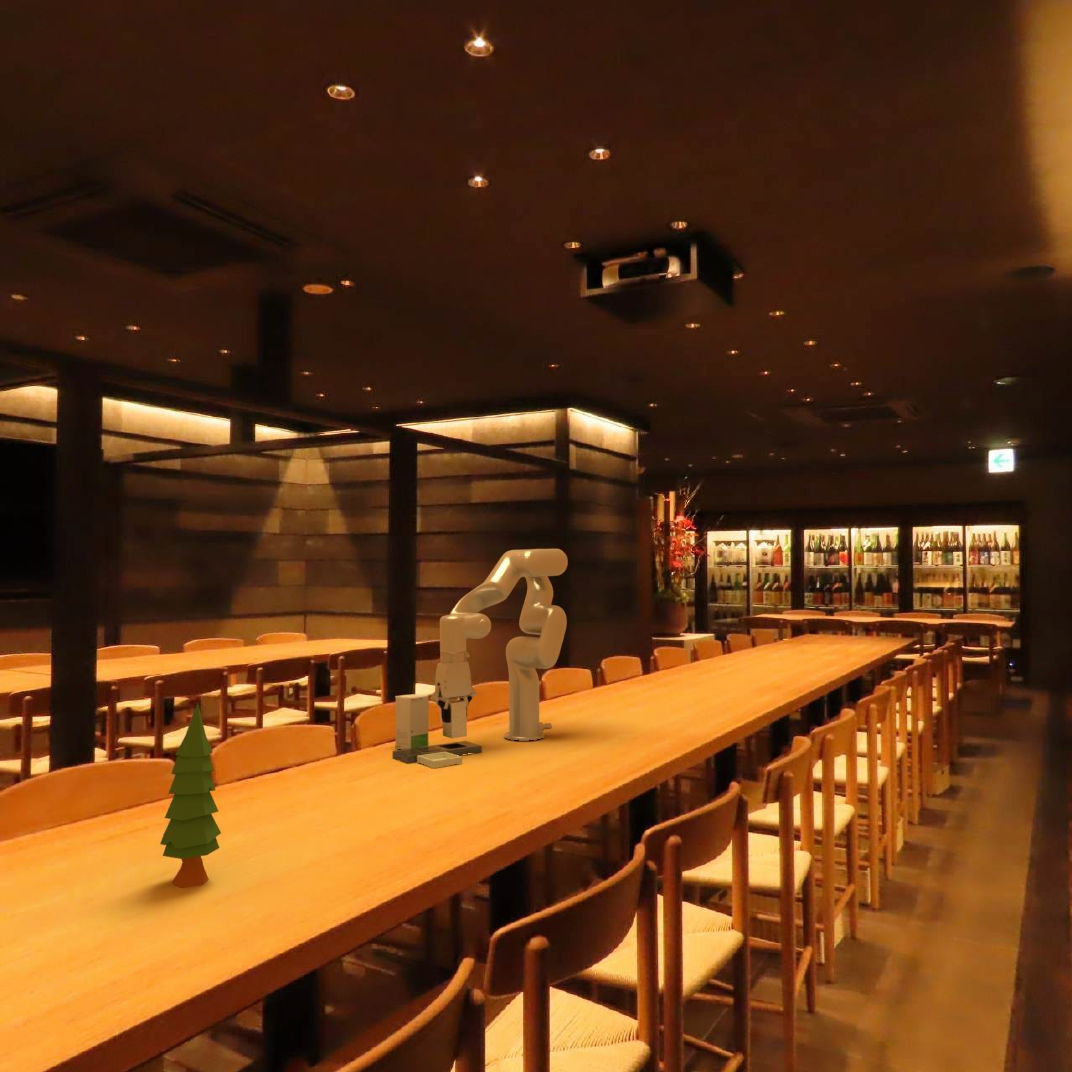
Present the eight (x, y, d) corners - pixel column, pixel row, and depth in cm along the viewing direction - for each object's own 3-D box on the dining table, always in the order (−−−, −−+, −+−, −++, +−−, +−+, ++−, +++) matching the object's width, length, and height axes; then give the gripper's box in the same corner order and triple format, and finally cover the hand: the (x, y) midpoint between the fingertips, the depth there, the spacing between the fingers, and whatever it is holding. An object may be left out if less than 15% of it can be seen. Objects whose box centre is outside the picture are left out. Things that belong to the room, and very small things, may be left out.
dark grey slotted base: (465, 747, 265) (465, 740, 265) (481, 752, 258) (481, 745, 258) (392, 758, 251) (392, 750, 251) (407, 763, 244) (407, 755, 244)
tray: (445, 758, 250) (445, 751, 250) (462, 764, 243) (462, 757, 243) (416, 762, 245) (416, 755, 245) (433, 768, 238) (433, 761, 238)
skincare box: (409, 751, 259) (409, 697, 260) (393, 749, 263) (393, 696, 264) (429, 747, 266) (429, 694, 267) (413, 744, 270) (414, 692, 271)
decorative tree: (226, 872, 156) (228, 699, 158) (209, 891, 147) (211, 707, 148) (170, 872, 156) (172, 700, 157) (149, 892, 147) (151, 708, 148)
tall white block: (457, 733, 262) (457, 698, 262) (466, 736, 258) (466, 700, 258) (442, 735, 259) (442, 700, 259) (451, 738, 255) (451, 702, 255)
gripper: (471, 654, 267) (472, 715, 266) (421, 659, 257) (422, 723, 256) (485, 656, 261) (486, 719, 260) (434, 661, 251) (435, 726, 250)
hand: (454, 720), depth 258 cm, fingers closed on tall white block, 5 cm apart
